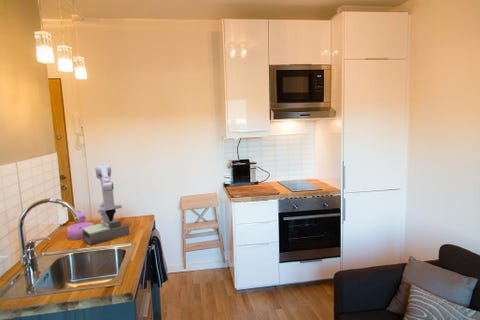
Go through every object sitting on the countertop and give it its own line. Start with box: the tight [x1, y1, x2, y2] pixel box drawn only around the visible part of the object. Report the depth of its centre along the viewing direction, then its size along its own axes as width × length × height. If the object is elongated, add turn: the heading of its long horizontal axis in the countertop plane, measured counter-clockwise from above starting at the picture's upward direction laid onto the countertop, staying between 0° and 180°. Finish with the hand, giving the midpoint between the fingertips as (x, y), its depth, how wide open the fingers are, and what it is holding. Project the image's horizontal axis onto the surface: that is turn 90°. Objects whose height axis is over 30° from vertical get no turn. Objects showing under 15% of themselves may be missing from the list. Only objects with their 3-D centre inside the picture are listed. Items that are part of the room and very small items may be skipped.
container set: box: [66, 210, 94, 241], centre depth 206 cm, size 25×15×13 cm, turn 28°
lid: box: [82, 220, 110, 235], centre depth 193 cm, size 14×12×3 cm
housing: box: [82, 220, 130, 246], centre depth 197 cm, size 14×24×6 cm, turn 133°
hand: (111, 221), depth 199 cm, fingers closed
